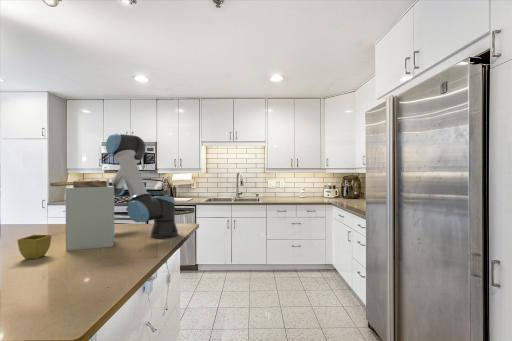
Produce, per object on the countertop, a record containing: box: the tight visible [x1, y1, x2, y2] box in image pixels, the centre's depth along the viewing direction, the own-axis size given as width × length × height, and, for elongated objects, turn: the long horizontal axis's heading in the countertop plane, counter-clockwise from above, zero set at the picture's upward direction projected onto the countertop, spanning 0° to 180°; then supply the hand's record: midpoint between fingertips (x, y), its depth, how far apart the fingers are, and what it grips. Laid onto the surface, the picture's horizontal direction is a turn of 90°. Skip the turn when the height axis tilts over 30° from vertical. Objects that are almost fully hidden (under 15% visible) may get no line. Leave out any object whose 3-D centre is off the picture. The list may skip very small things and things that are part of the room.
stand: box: [65, 186, 115, 252], centre depth 143 cm, size 20×10×30 cm, turn 112°
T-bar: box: [72, 179, 107, 188], centre depth 150 cm, size 14×21×3 cm, turn 22°
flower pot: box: [16, 234, 52, 260], centre depth 125 cm, size 9×9×9 cm
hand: (93, 180), depth 151 cm, fingers open, 13 cm apart
